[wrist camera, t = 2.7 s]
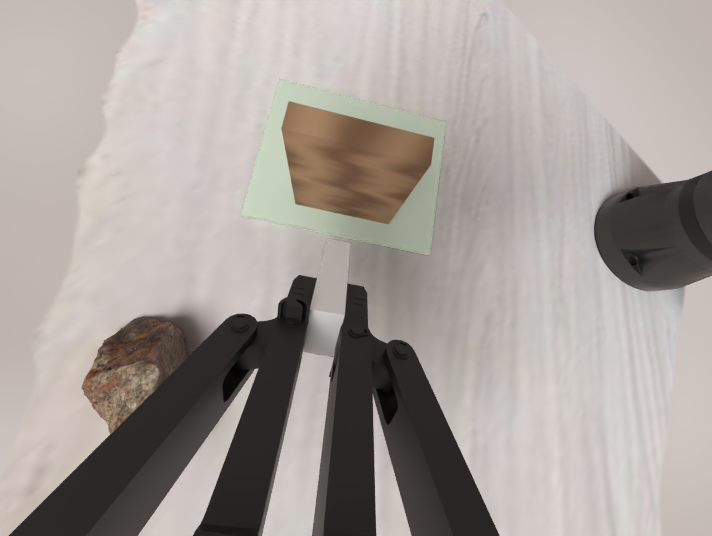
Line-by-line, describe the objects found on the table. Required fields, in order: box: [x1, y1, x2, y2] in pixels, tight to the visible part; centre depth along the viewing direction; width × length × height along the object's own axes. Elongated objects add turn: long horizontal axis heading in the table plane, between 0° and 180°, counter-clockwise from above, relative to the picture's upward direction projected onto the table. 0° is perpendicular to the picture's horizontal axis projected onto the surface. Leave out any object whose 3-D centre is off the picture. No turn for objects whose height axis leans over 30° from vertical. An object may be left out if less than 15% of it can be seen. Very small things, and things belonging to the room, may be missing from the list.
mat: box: [241, 79, 446, 255], centre depth 37 cm, size 24×20×1 cm
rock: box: [82, 318, 188, 434], centre depth 26 cm, size 14×9×10 cm
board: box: [281, 101, 435, 224], centre depth 29 cm, size 12×2×14 cm, turn 80°
